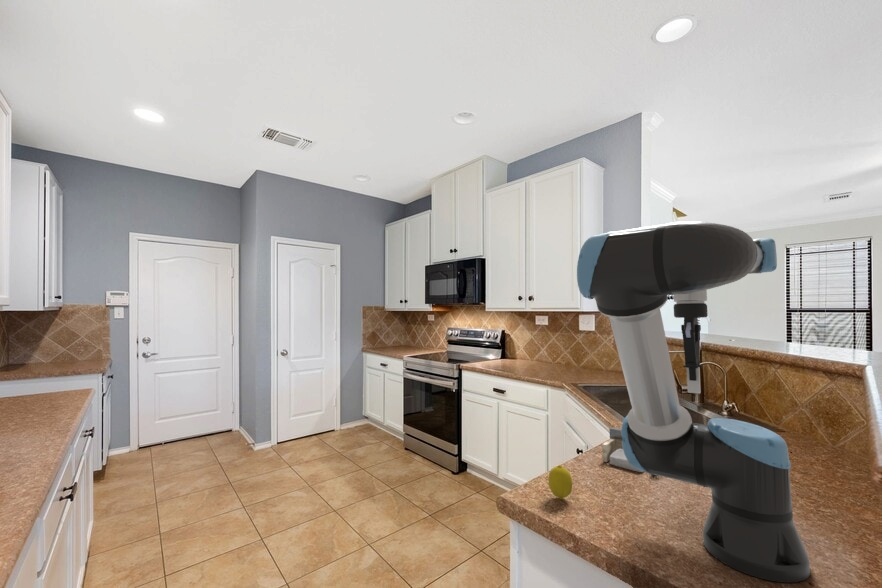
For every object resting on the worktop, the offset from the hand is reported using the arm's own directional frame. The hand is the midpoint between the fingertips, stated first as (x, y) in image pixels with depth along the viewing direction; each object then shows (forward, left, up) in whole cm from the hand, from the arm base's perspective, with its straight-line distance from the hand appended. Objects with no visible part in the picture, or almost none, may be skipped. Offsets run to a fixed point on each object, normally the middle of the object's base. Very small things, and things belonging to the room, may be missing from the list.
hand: (694, 392), depth 101 cm
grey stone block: (+2, +18, -24) cm, 30 cm away
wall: (+9, +17, -24) cm, 30 cm away
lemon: (-31, +23, -24) cm, 45 cm away
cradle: (+3, +17, -24) cm, 29 cm away
